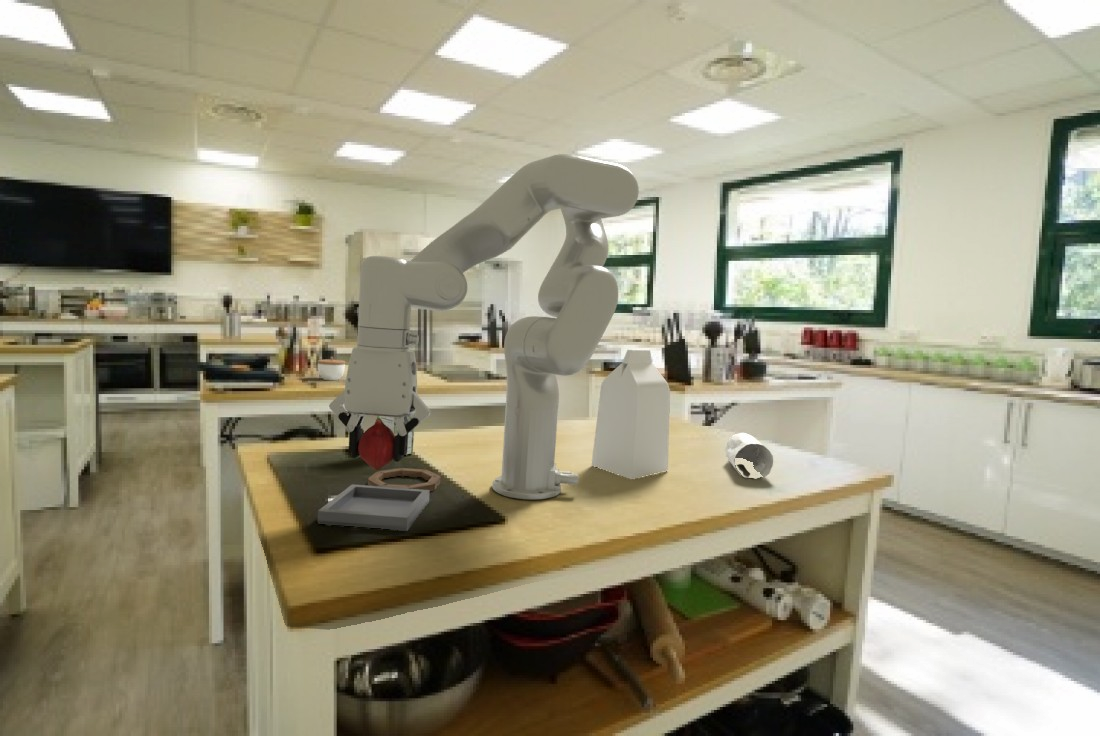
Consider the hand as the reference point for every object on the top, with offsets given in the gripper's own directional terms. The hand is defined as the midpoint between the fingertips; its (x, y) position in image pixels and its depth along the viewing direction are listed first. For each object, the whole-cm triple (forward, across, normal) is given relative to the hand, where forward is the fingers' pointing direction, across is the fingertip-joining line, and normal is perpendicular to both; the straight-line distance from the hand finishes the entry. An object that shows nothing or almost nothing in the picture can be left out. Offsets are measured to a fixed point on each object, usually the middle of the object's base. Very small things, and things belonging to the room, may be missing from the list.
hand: (377, 456), depth 87 cm
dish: (+9, 0, 0) cm, 9 cm away
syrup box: (+9, +8, -35) cm, 37 cm away
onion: (+2, 0, 0) cm, 2 cm away
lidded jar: (+9, +68, -145) cm, 160 cm away
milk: (+8, -43, -37) cm, 58 cm away
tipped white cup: (+8, -69, -44) cm, 82 cm away
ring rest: (+9, 0, -15) cm, 18 cm away
